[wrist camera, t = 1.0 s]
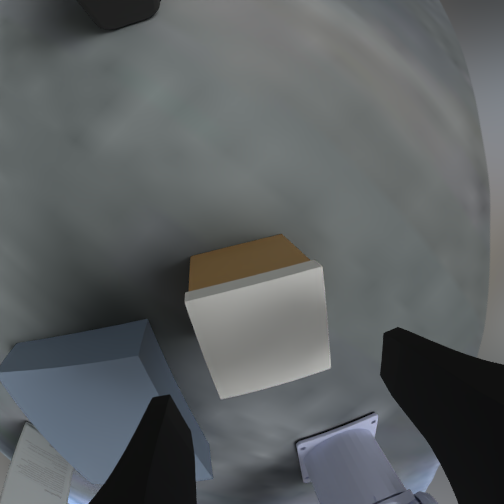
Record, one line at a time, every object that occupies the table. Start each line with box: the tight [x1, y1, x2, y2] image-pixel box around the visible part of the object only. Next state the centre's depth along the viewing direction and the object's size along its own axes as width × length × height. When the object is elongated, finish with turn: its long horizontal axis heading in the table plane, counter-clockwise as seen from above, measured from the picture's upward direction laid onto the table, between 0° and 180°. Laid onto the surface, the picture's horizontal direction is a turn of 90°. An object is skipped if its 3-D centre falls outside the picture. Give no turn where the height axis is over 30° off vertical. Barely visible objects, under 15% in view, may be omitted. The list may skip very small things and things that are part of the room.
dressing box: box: [0, 319, 213, 484], centre depth 16 cm, size 13×11×4 cm
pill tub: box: [184, 234, 331, 399], centre depth 14 cm, size 5×5×6 cm
